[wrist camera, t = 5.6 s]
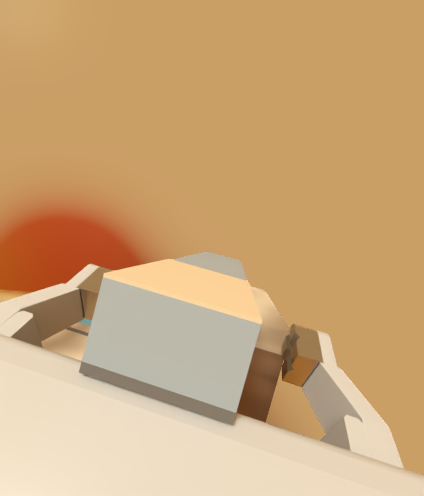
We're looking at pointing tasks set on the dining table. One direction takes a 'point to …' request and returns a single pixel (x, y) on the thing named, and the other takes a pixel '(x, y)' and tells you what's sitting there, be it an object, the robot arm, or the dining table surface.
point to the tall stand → (263, 360)
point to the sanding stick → (176, 332)
